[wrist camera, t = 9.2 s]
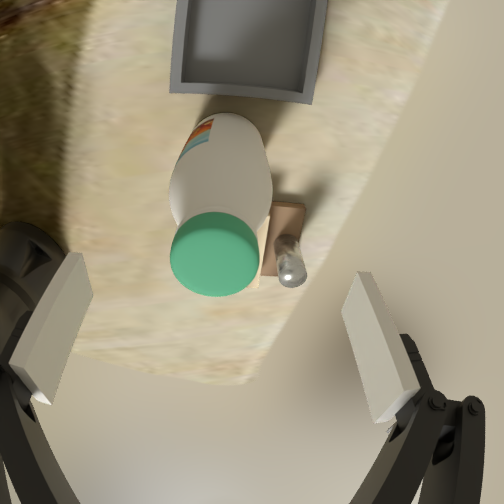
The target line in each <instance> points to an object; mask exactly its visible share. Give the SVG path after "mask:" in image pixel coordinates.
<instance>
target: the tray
mask: <svg viewBox="0 0 504 504" xmlns="http://www.w3.org/2000/svg"><path fill="white" fill-rule="evenodd" d="M327 2H328V0H177V5H176V14H175V24H174V34H173V45H172V58H171V73H170V90H169V93H193V94H216V95H231V96H244V97H254V98H264V99H273V100H281V101H288V102H295V103H302V104H308V105H312V101H313V95H314V89H315V82H316V76H317V70H318V64H319V57H320V51H321V44H322V37H323V30H324V23H325V16H326V9H327Z"/></svg>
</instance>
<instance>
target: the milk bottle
mask: <svg viewBox="0 0 504 504" xmlns="http://www.w3.org/2000/svg"><path fill="white" fill-rule="evenodd" d="M272 193H273V187H272V179H271V173H270V168H269V164H268V160H267V156H266V152H265V149H264V145H263V141H262V138H261V136H260V134H259V132H258V130H257V128H256V127H255V126H254V125H253V124H252V123H251V122H250V121H249V120H248V119H246V118H244V117H242V116H240V115H237V114H233V113H218V114H214V115H211V116H209V117H207V118H205V119H204V120H202V121H201V122H200V123H199V124H198V125H197V126H196V127H195V129H194V130H193V131H192V133H191V135H190V137H189V139H188V140H187V142H186V144H185V146H184V148H183V150H182V152H181V154H180V156H179V158H178V161H177V163H176V165H175V168H174V171H173V173H172V176H171V180H170V187H169V202H170V207H171V211H172V214H173V217H174V219H175V221H176V223H177V225H178V227H177V229H176V232H175V237H174V240H173V242H172V246H171V252H170V263H171V268H172V271H173V273H174V275H175V277H176V278H177V279H178V281H179V282H180V283H181V284H182V285H183V286H185V287H186V288H188V289H189V290H191V291H193V292H195V293H198V294H201V295H205V296H212V297H220V296H227V295H231V294H234V293H237V292H239V291H241V290H243V289H244V288H245V287H247V286H248V285H249V284H250V283H251V282H252V281H253V279H254V278H255V276H256V274H257V271H258V268H259V263H260V253H259V246H258V236H257V231H258V230H259V229H260V228H261V226H262V225H263V223H264V222H265V220H266V218H267V216H268V213H269V210H270V207H271V203H272Z"/></svg>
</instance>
